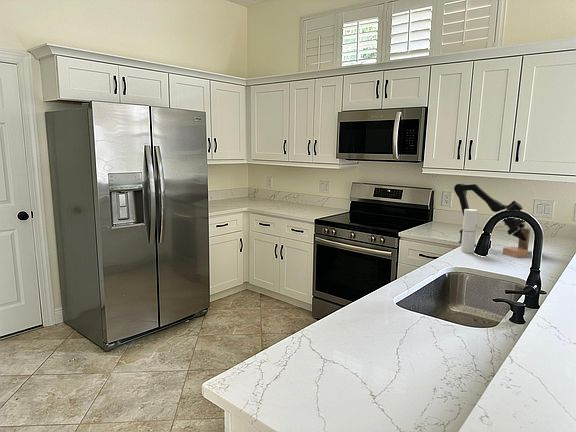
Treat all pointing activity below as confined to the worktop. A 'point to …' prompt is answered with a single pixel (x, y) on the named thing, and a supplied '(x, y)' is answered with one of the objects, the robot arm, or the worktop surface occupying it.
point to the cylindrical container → (469, 230)
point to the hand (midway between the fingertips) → (526, 240)
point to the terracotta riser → (515, 252)
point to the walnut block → (526, 234)
